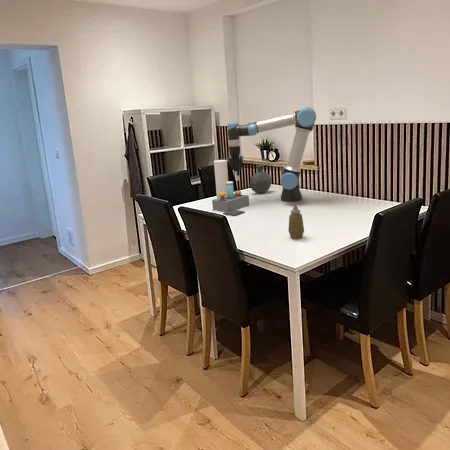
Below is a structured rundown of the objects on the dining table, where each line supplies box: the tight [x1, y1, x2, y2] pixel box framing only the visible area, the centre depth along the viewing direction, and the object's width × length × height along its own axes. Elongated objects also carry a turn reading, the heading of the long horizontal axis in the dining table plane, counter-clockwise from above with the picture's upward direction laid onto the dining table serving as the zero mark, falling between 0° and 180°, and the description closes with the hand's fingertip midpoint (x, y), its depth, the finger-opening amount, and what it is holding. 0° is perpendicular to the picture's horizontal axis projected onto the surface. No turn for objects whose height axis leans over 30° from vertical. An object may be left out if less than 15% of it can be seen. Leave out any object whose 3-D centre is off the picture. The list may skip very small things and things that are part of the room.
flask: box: [249, 164, 272, 194], centre depth 340 cm, size 12×17×22 cm
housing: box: [211, 193, 250, 213], centre depth 303 cm, size 14×22×7 cm, turn 138°
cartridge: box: [225, 180, 235, 199], centre depth 301 cm, size 5×5×18 cm
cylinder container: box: [213, 159, 229, 199], centre depth 326 cm, size 9×9×30 cm
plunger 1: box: [219, 192, 226, 201], centre depth 296 cm, size 5×5×9 cm
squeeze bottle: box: [288, 202, 305, 240], centre depth 225 cm, size 8×8×18 cm
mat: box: [222, 209, 246, 217], centre depth 287 cm, size 10×10×1 cm
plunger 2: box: [234, 190, 242, 196], centre depth 308 cm, size 5×5×9 cm
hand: (237, 180), depth 305 cm, fingers closed
